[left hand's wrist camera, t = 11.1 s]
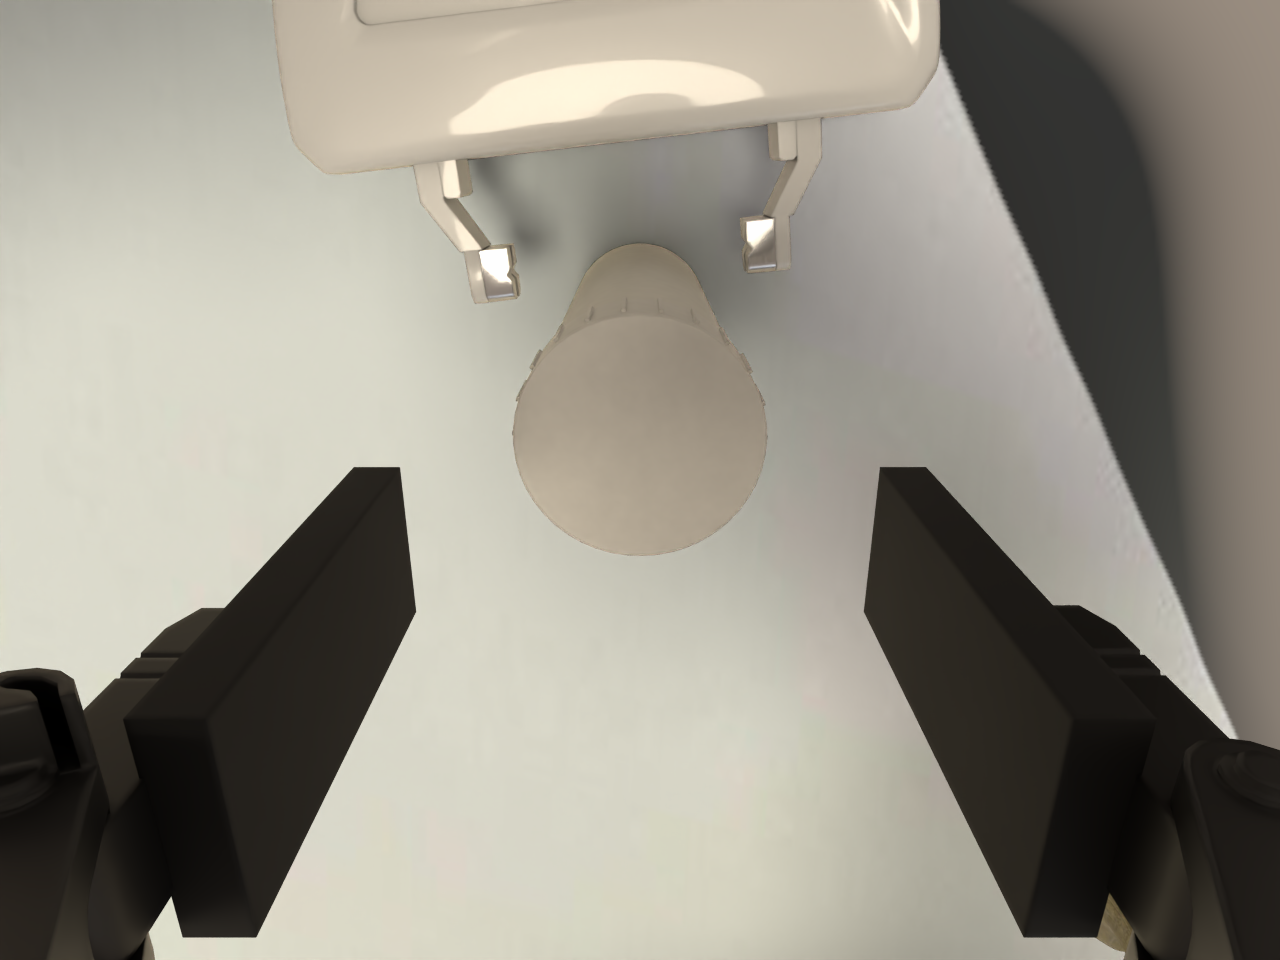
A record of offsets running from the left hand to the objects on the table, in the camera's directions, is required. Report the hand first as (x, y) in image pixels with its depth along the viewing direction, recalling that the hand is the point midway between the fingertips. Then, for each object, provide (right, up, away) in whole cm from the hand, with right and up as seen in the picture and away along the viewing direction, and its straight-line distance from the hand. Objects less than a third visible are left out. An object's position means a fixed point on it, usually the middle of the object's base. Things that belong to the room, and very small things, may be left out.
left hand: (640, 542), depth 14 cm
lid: (0, +2, +5) cm, 6 cm away
